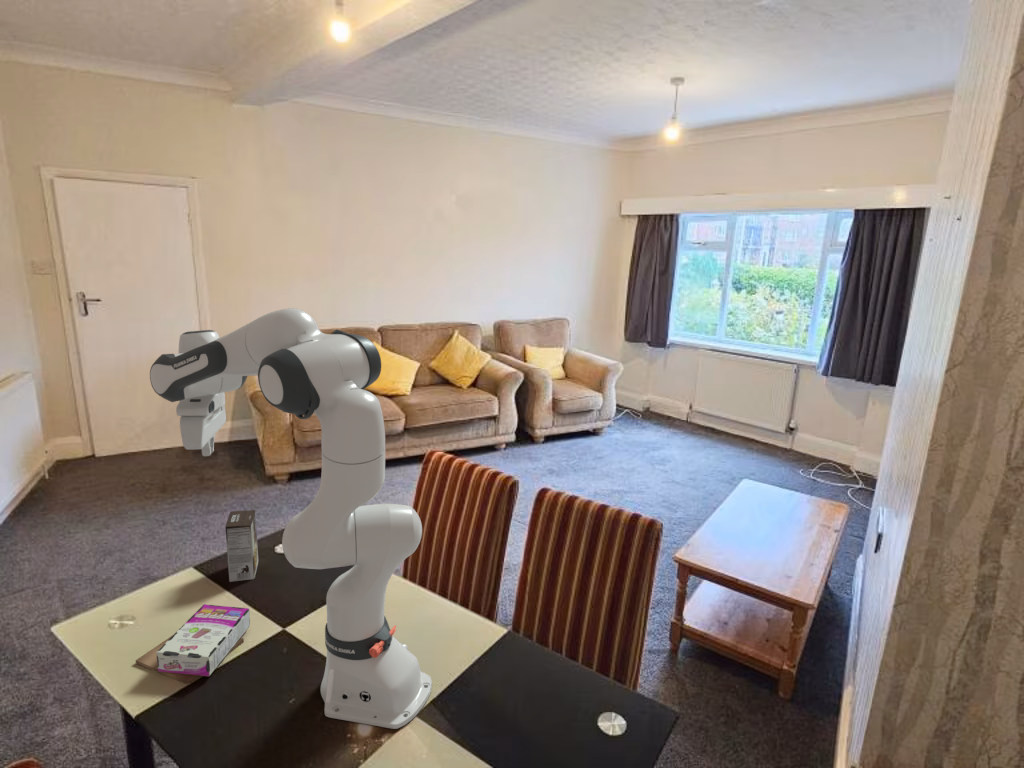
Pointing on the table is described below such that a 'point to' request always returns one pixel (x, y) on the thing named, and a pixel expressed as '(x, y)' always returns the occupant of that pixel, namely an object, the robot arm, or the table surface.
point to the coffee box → (241, 545)
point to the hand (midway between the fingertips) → (208, 454)
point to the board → (151, 663)
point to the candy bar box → (203, 640)
